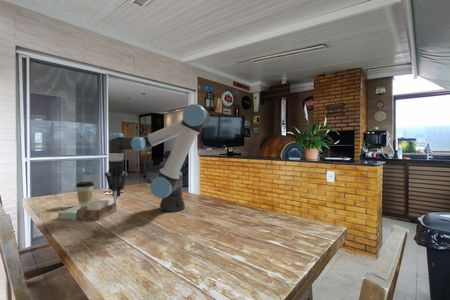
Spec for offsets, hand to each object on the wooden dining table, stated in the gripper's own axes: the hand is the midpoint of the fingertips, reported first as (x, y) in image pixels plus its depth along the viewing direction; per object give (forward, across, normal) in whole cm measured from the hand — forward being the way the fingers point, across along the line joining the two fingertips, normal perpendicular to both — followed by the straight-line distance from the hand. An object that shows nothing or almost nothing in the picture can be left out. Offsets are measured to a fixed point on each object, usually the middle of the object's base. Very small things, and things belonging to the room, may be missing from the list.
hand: (116, 202), depth 130 cm
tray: (+7, +20, +4) cm, 21 cm away
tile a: (+2, +7, 0) cm, 7 cm away
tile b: (+2, +7, +8) cm, 11 cm away
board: (+7, +8, +4) cm, 12 cm away
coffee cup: (+7, +28, -13) cm, 32 cm away
